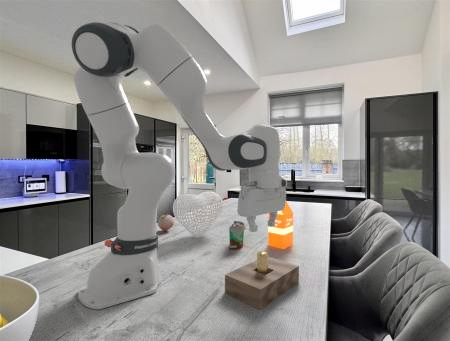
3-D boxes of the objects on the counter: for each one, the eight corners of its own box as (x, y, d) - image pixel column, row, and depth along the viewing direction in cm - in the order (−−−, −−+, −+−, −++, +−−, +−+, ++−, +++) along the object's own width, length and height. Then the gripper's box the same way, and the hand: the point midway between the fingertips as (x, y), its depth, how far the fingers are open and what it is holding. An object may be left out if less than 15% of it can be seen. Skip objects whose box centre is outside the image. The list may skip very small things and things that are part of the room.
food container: (243, 251, 102) (243, 227, 102) (229, 250, 104) (229, 226, 103) (247, 242, 114) (247, 221, 114) (233, 241, 116) (234, 220, 116)
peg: (263, 291, 70) (263, 255, 70) (255, 287, 72) (255, 253, 72) (269, 287, 72) (269, 253, 72) (261, 283, 74) (261, 250, 74)
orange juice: (293, 244, 112) (293, 200, 112) (283, 249, 106) (283, 202, 105) (277, 240, 118) (278, 198, 117) (267, 245, 111) (268, 200, 111)
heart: (187, 247, 107) (188, 196, 107) (165, 240, 117) (165, 193, 117) (229, 234, 128) (229, 191, 128) (207, 229, 138) (207, 189, 138)
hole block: (260, 309, 61) (260, 289, 61) (224, 292, 69) (224, 274, 69) (298, 282, 76) (298, 265, 75) (265, 270, 84) (265, 256, 84)
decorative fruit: (171, 233, 129) (171, 214, 129) (156, 233, 129) (156, 214, 129) (175, 229, 138) (175, 211, 138) (161, 229, 138) (161, 211, 138)
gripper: (251, 182, 63) (250, 237, 63) (290, 181, 78) (289, 225, 78) (232, 181, 67) (231, 232, 67) (272, 180, 82) (271, 222, 82)
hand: (262, 228), depth 73 cm, fingers open, 8 cm apart
